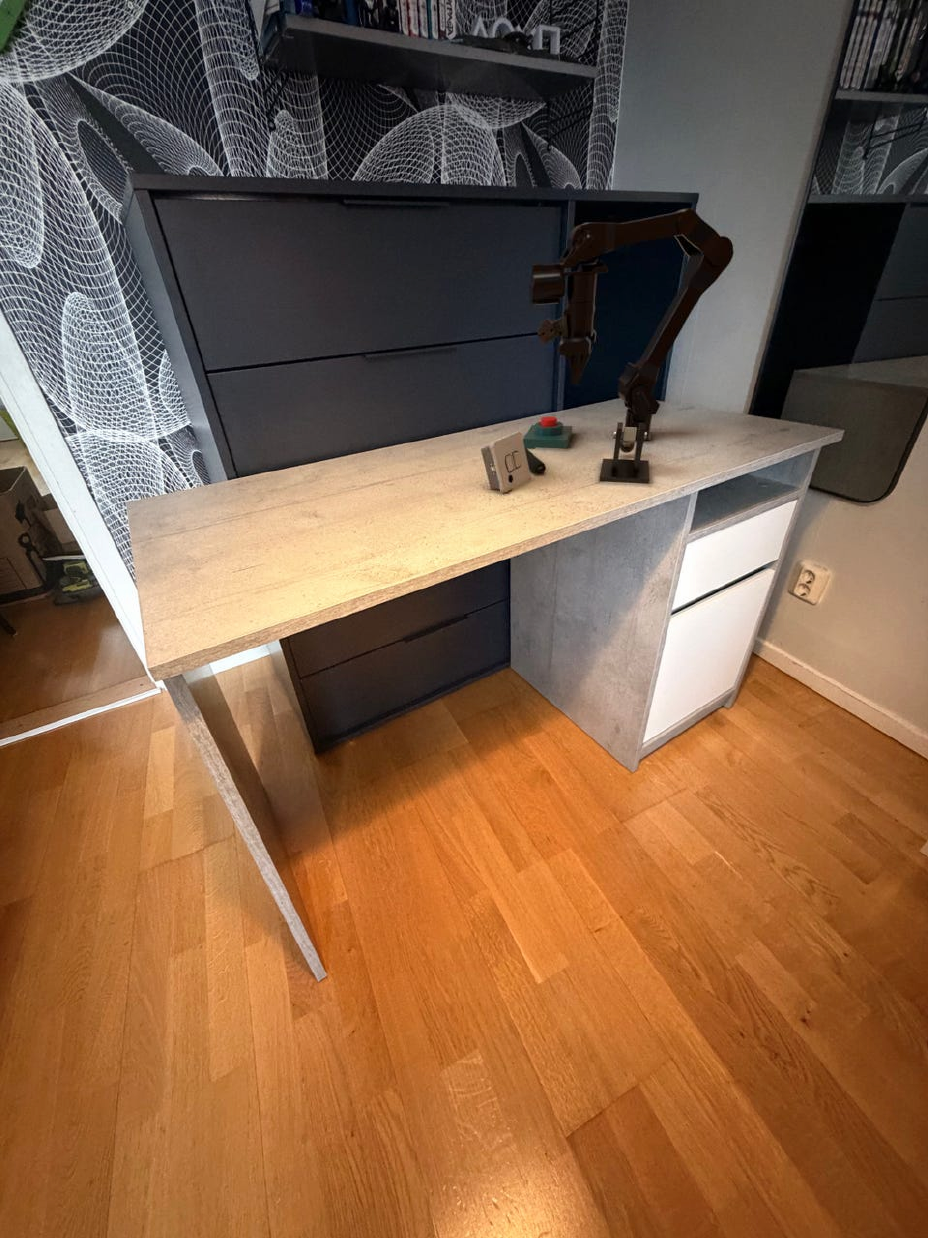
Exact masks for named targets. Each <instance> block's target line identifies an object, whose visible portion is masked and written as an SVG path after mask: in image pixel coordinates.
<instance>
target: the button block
mask: <svg viewBox="0 0 928 1238" xmlns="http://www.w3.org/2000/svg"><path fill="white" fill-rule="evenodd" d="M572 435H573V425H564V423H563V422H562V421H558V420H557V426H552V427H544V426H541V421H538V422H536V423H534V424H531V425H530V427H529V429H528V430H527V432H526V434H525V435H524V437H522V439H523V443H524V447H525V448H526V449H528V450H536V449H560V450H562V449H563V450H567V448H568V445H569V443H570V440H571V438H572Z"/></svg>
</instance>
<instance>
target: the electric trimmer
mask: <svg viewBox="0 0 928 1238" xmlns="http://www.w3.org/2000/svg"><path fill="white" fill-rule="evenodd" d="M524 448H525V447H524ZM525 453H526V457H527V462H528V466H529V471H530V472H533V473H541V472H542V473H543V472H545V471H547V467H546V464H545V463H544V461H542V460H541V459H539V458H538V457H536V455H534V453H532V451H530V449H526V448H525Z"/></svg>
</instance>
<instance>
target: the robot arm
mask: <svg viewBox="0 0 928 1238" xmlns="http://www.w3.org/2000/svg"><path fill="white" fill-rule="evenodd" d="M672 237H674V239H676V240H677V243H678V244H679V246H680V247H681V249H682V251H683V252H684V253H685V254H686V255H687V256H688V260H687V262H686V265H685V267H684V271H683V274H682V280H681V284H680V287H679V288H678V290H677V292H676V294H675V295H674V297H673V299H672V301H671V303H670V305H669V306H668V308H667V310H666V311H665V314H664V316H663V318H662V319H661V321H660V323H659V325H658V326H657V328H656V330H655V332H654V333H653V335H652V337H651V339H650V341H649V342H648V343H647V346H646V348H645V350H644V351H643V353H642V355H641V356H640V358H639V359H638V360H637V361H636V362H635V363H634V364H633V363H631V362H627V363H626V365H625V367H624V370H623V372H622V374H621V375H620V377H619V378H618V379H617V381H618V385H617V394H618V396H619V399H621V400H622V401H623V403H624V407H625V408H627V409H626V415H625V421H624V427H623V428H624V429H625V427H636V428H637V433H636V440H635V442H637V436H638V430H639V423H645V432H647V437H646V440H643V442H651V440H652V436H651V432H650V430H651V424H652V419H653V415H657V412H658V410H659V409H660V406H661V404H660V403H659V401H658V400H657V399H656V398H655V396H654V395H653V391H654V389H655V386H656V385H657V379H658V375H659V370H660V368H661V365H662V363H663V362H664V360H665V359H666V357H667V355H668V353H669V352H670V350H671V348H672V346H673V345H674V343H675V341H676V339H677V338H678V336H679V335H680V333H681V331H682V329H683V328H684V326H685V325H686V322H687V321H688V320H689V318H690V316H691V314H692V313H693V311H694V309H695V307H696V305H697V304H698V302H699V300H700V298H701V297H702V295H704V293H706V291H707V290H708V289H710V288H711V286H712V285H713V284H715V282H717V281H718V279H719V278H720V277H721V275H722V274H723V273H724V271H725V270H726V269H727V268H728V266H729V265H730V263H731V262H732V260H733V257H734V253H735V251H734V244H733V243H732V240H731V239H730V238H729V237H728V236H725V235H720V234H719V232H717V230H716V229H715V228H713V227H712V226H711V225H710V224H708V223H707V221H705V220H704V219H702V218H701V216H700V215H699V214H698V213H697V211H696V210H695V209H693V208H691V207H687V208H682V209H679V210H676V211H674V212H670V213H665V214H660V215H655V216H650V217H645V218H640V219H636V220H630V221H625V222H604V221H603V222H602V221H587V222H584V223H582V224H579V225H577V226H575V227H574V228H573V229H571V231H570V233H569V235H568V237H567V242H566V243H567V244H566V246H567V247H566V248H565V250H564V252H563V253H562V255H561V256H560V257H559V260H558V261H557V263H551V264H540V263H537V264H532V265H531V273H530V283H529V290H528V291H529V293H528V295H529V296H528V297H529V305H530V306H539V305H540V306H541V305H554V304H559V302H560V299H562V298H564V297H565V294H566V298H565V299H566V303H565V309H564V310H563V311H562V317H559V318H558V319H555V320H551V319H550V318H548V319H545V320H543V321H542V322H540V327H538V328H537V329H536V331H537V332H538V333H537V337H538V338H539V340H540V343H541V345H542V346H543V345H546V344H548V342H550V341H552V340H554V339H556V338H559V337H561V340H560V341H559V342H558V344H557V355H558V356H564V357H565V358H566V359H567V360H568V364H569V365H568V366H569V371H570V377H571V384H572V385H573V386H578V385H579V383H580V379H581V378H582V376H583V373H584V371H585V369H586V365H587V364H588V361H589V359H590V357H591V353H592V351H593V348H594V347H593V346H591V345H592V344H595V343H596V339H597V331H596V330H595V329H594V319H595V318H594V317H595V312H596V305H595V303H596V302H595V301H596V292H597V281H598V280H597V278H598V274H606V273H608V271H609V268H608V267H607V266H606V265H605V264H604V262H603V261H602V258H597V257H600V256H602V255H605V254H607V253H609V252H611V251H613V250H615V249H618V248H621V247H626V246H631V245H635V244H641V243H645V242H650V241H656V240H661V239H665V238H672ZM595 258H596V259H595ZM592 259H595V261H594V262H593V263H585V264H584V263H583V264H579V263H581V262H582V261H590V260H592ZM578 264H579V265H578ZM577 265H578V267H577V271H566V272H565V269H571V268H572V269H573V268H575V267H576V266H577ZM566 277H567V280H566ZM624 429H623V430H622V436H621V441H622V440H623V436H624Z"/></svg>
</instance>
